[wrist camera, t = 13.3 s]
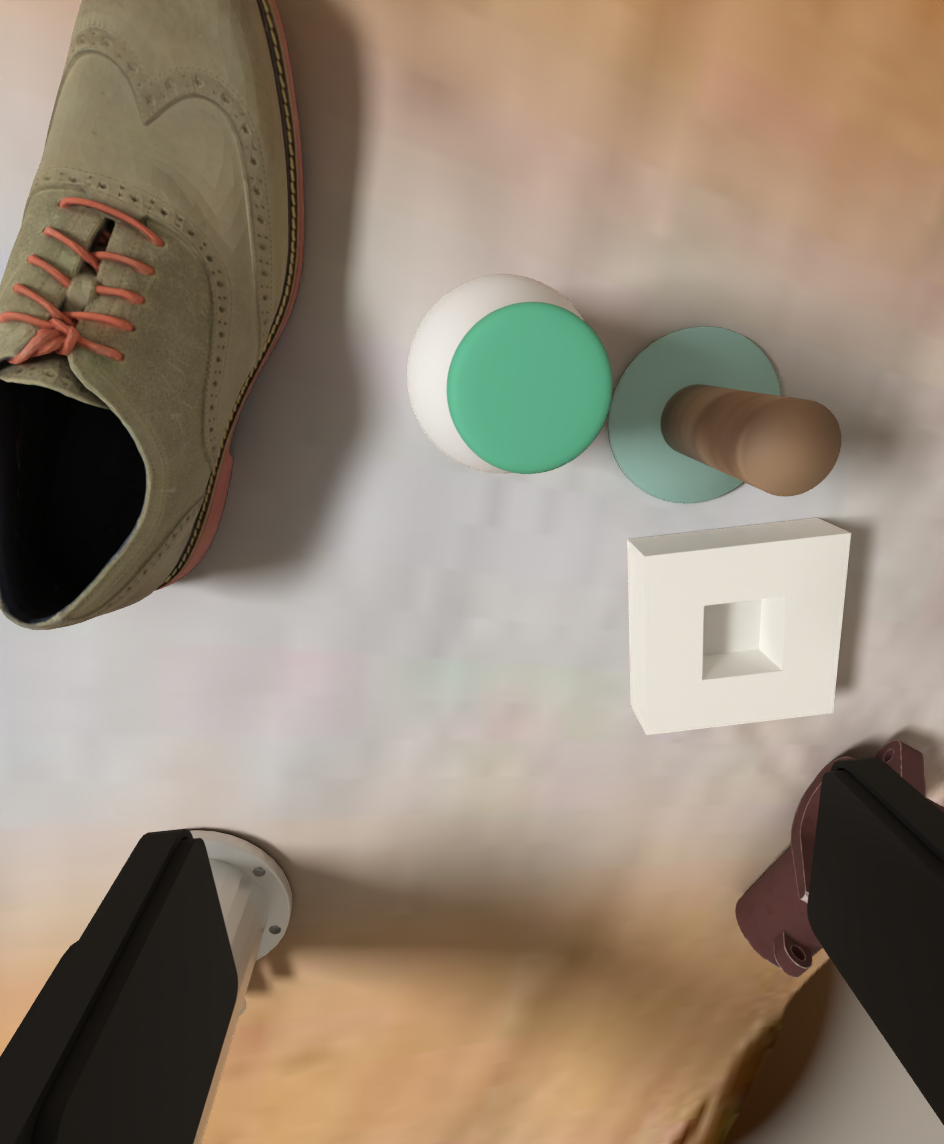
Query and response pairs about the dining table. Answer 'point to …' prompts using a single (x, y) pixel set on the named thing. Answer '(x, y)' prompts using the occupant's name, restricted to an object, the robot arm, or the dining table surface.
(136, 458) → the oxford shoe
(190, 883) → the robot arm
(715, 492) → the felt pad
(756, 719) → the pocket block
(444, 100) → the dining table surface
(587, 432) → the milk bottle
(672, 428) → the walnut dowel
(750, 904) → the bracket
